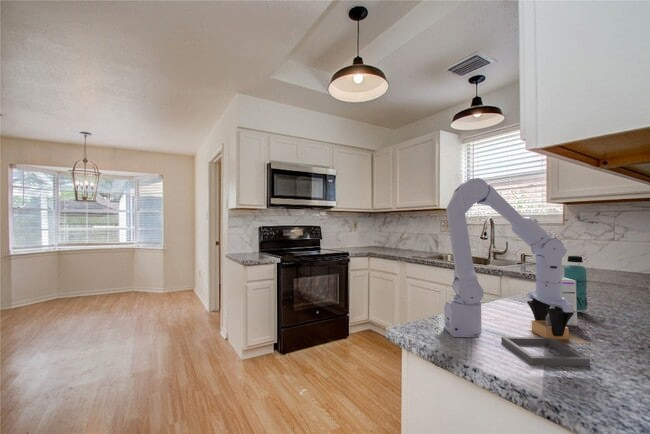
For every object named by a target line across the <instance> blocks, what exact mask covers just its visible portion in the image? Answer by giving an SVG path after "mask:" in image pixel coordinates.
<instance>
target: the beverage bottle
mask: <svg viewBox="0 0 650 434" xmlns="http://www.w3.org/2000/svg"><path fill="white" fill-rule="evenodd" d="M567 262H568V263H569V262H570V263H579V264H580V263H583V257H582V256H580V255H568V256H567ZM587 271H588V270H587V268H586V267H584V265H577V264H567V265H565V266H564V267H563V274H564V275H563V277H564V278H568V279H571V280H575V281H576V304H577V311H587V309H588V293H587V292H588V291H587V287H588V285H587V283H588V279H587Z"/></svg>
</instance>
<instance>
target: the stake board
mask: <svg viewBox="0 0 650 434" xmlns="http://www.w3.org/2000/svg"><path fill="white" fill-rule="evenodd" d="M546 326H551V320H550V317H549V315H548V316H546ZM528 332H530V333H532V334H533V335H535V336H537V337H542V336H540V335H538V334H536V333H534V332H533V331H532V329H529V330H528ZM542 338H543V337H542ZM553 340H555V341H557V342H559V343H561V344H575V345H576V344H582V345H583V344H584V345H585V344H587V345H592V343H591V342H589V341H587V340H585V339H583V338H580V337H578V336H576V335H574V334H573V333H570V332H569V339H553Z"/></svg>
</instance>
